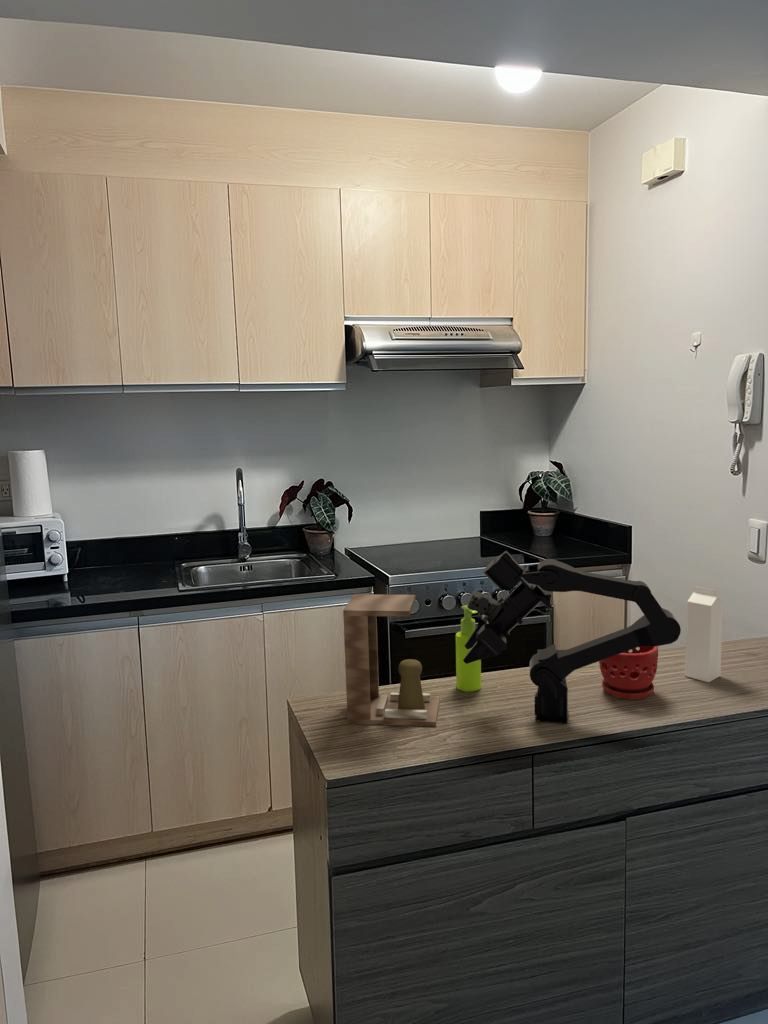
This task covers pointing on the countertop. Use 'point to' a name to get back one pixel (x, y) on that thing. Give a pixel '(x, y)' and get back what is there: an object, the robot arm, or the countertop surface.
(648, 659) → the plant pot
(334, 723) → the countertop surface
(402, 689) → the cork
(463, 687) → the soap dispenser
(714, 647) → the milk
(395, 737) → the countertop surface
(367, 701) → the wooden stand
